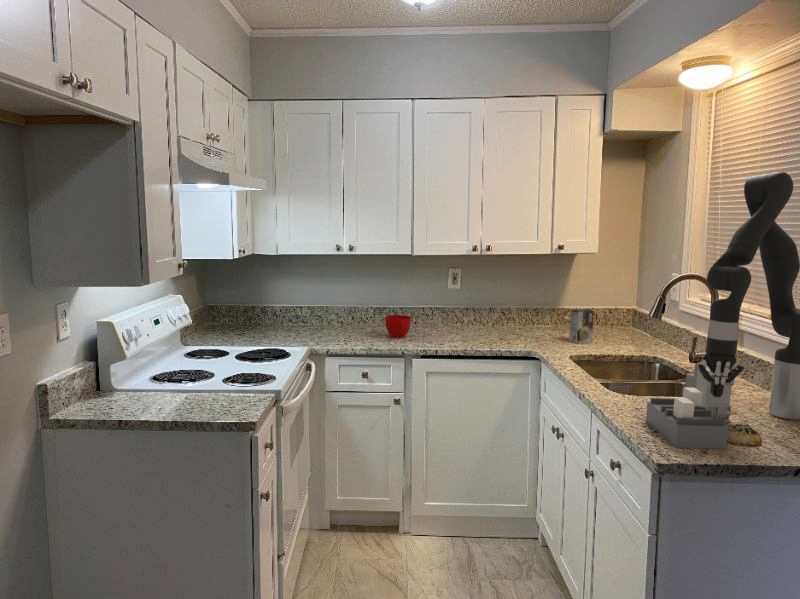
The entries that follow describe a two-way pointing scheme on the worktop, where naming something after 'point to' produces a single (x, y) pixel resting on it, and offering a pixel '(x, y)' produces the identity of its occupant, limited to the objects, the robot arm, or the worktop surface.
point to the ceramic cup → (397, 325)
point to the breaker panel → (687, 426)
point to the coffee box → (581, 326)
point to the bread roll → (743, 435)
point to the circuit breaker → (712, 403)
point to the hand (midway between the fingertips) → (716, 396)
